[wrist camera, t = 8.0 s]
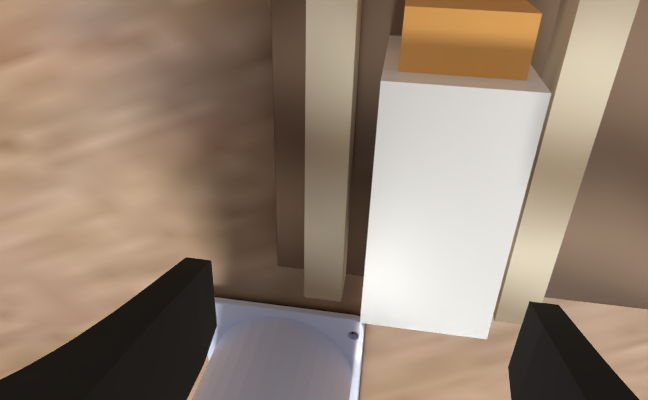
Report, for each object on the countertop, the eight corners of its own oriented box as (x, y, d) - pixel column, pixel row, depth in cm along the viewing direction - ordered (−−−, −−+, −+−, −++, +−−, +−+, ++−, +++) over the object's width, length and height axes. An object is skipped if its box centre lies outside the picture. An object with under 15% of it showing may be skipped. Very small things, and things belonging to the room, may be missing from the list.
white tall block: (471, 247, 20) (486, 339, 16) (371, 236, 21) (360, 322, 16) (527, -11, 15) (570, 22, 11) (394, -18, 16) (386, 11, 12)
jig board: (816, 313, 20) (869, 367, 18) (283, 252, 23) (267, 292, 21) (1036, -4, 14) (1161, 15, 12) (277, -38, 17) (255, -29, 15)
